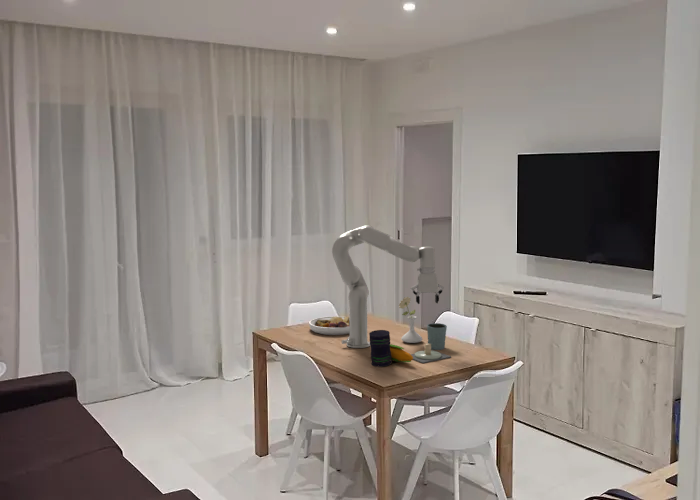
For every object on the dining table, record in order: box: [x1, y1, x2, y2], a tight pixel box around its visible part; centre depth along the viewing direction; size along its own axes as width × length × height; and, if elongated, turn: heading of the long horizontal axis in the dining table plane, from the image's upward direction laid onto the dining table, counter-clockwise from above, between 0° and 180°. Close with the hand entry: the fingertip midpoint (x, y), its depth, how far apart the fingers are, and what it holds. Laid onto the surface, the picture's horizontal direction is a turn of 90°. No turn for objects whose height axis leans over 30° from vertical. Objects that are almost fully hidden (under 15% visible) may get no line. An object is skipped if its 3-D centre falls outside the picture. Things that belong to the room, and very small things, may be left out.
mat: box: [410, 349, 452, 364], centre depth 328 cm, size 18×14×1 cm
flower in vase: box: [398, 296, 423, 344], centre depth 356 cm, size 13×11×25 cm
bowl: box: [308, 315, 349, 336], centre depth 386 cm, size 30×30×8 cm
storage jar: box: [368, 329, 392, 368], centre depth 316 cm, size 10×10×15 cm
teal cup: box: [426, 322, 448, 351], centre depth 344 cm, size 10×10×12 cm
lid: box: [414, 342, 442, 360], centre depth 328 cm, size 13×13×6 cm
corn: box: [390, 343, 414, 363], centre depth 320 cm, size 7×8×20 cm
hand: (427, 303), depth 344 cm, fingers open, 9 cm apart
